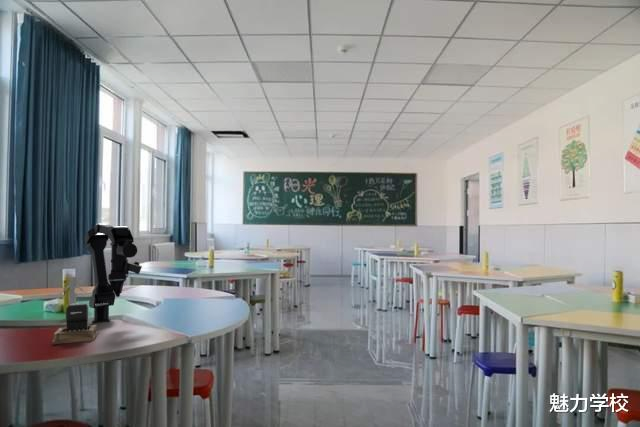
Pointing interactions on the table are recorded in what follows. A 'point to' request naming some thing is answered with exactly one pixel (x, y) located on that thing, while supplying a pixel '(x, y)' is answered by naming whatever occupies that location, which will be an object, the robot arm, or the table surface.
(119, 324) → the table surface
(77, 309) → the battery
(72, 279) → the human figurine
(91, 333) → the wooden tray
